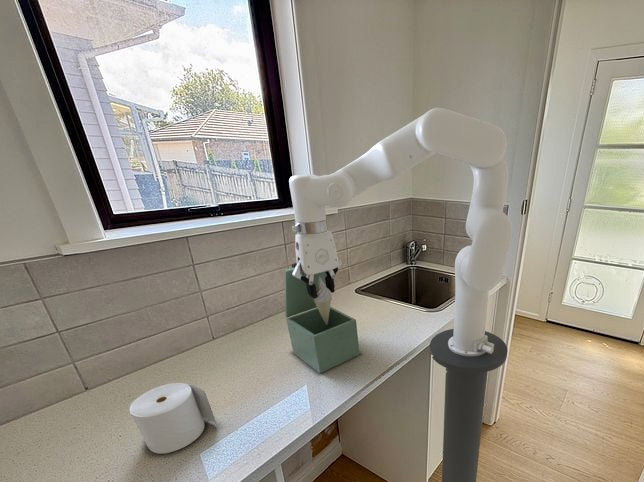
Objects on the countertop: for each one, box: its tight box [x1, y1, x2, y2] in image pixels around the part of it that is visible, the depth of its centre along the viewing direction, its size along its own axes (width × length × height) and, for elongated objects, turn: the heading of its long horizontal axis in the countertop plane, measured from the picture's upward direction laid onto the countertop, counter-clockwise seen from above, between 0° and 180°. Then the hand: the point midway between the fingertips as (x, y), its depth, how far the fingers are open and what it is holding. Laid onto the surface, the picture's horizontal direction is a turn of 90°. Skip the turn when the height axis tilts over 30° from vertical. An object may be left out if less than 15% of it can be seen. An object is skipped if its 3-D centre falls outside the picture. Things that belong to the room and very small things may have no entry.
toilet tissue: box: [129, 382, 218, 455], centre depth 71 cm, size 11×12×10 cm
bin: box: [285, 306, 360, 374], centre depth 99 cm, size 16×14×12 cm
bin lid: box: [284, 262, 327, 319], centre depth 97 cm, size 16×14×5 cm
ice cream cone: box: [313, 276, 332, 325], centre depth 94 cm, size 5×5×15 cm
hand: (322, 293), depth 93 cm, fingers closed on ice cream cone, 4 cm apart
